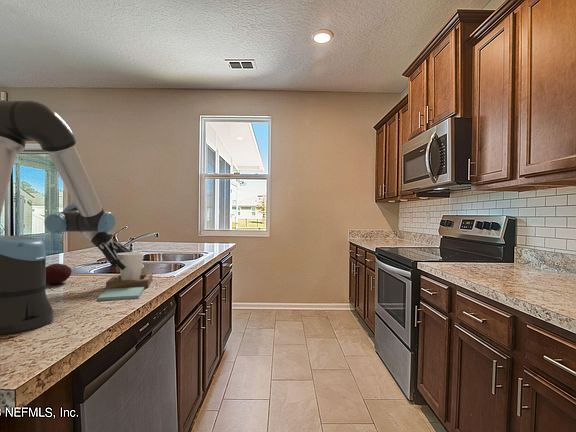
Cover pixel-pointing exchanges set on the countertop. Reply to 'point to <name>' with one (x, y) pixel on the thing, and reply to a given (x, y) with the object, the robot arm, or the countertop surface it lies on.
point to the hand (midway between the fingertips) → (137, 271)
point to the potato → (57, 273)
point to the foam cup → (132, 264)
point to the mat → (121, 293)
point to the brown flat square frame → (129, 282)
